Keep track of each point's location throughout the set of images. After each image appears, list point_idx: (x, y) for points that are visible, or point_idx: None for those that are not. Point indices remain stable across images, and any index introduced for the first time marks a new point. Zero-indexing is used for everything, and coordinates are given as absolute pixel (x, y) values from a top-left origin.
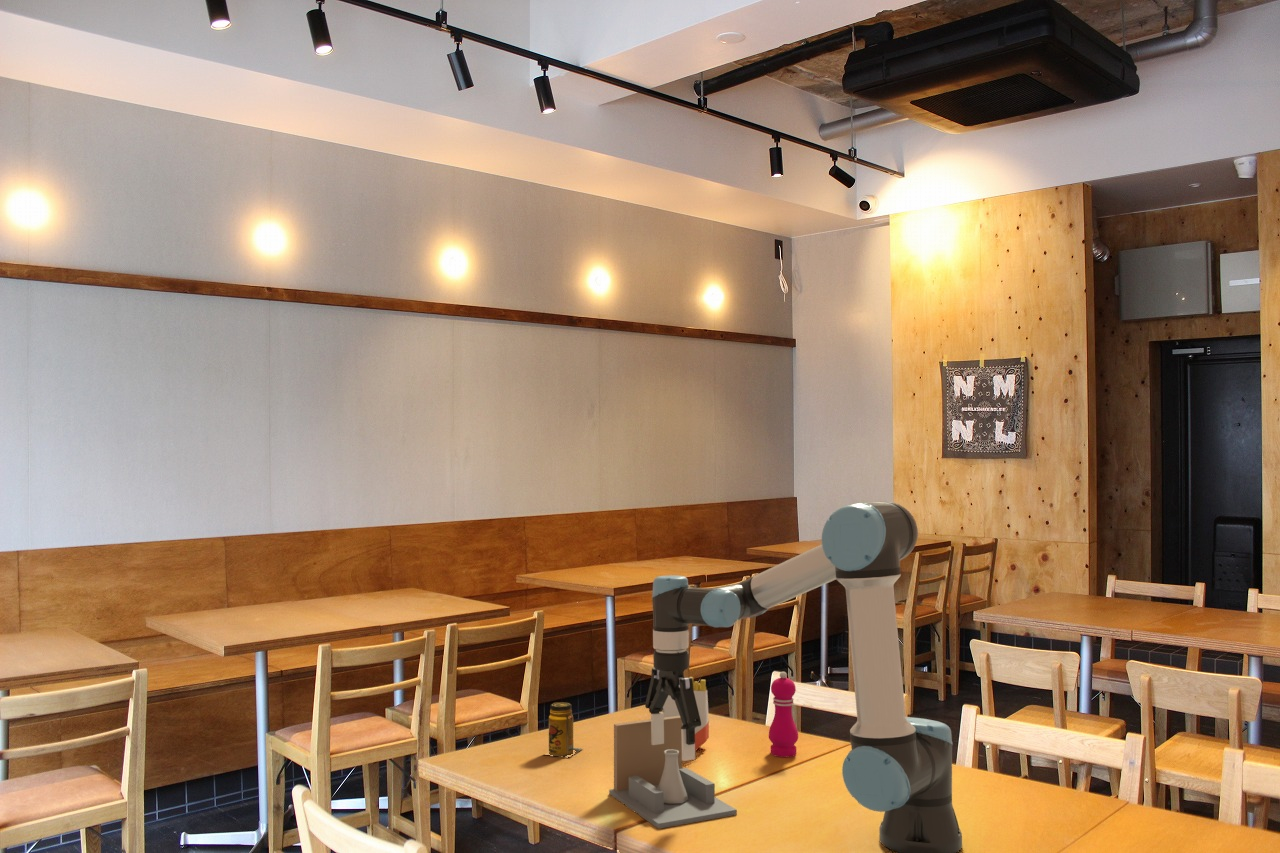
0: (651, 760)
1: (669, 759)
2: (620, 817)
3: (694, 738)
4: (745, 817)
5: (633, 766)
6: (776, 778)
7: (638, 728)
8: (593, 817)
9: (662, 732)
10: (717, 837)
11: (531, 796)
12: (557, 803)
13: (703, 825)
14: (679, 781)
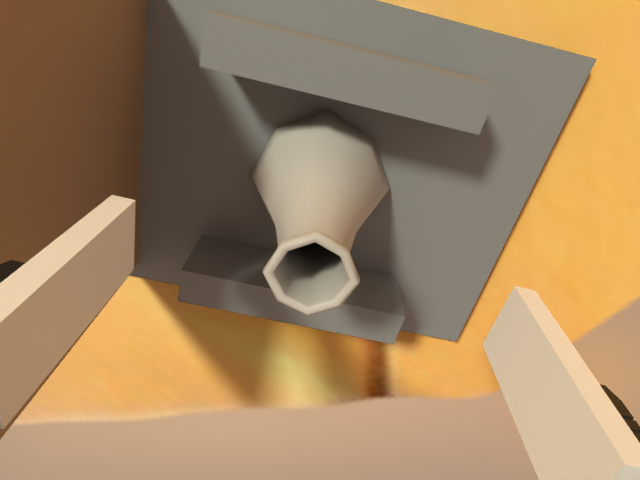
0: (91, 166)
1: (329, 283)
2: (311, 347)
3: (633, 424)
4: (631, 50)
5: None
6: None
7: None
8: (266, 388)
9: (96, 244)
10: (636, 260)
11: (37, 406)
12: (120, 393)
13: (541, 226)
14: (364, 204)
